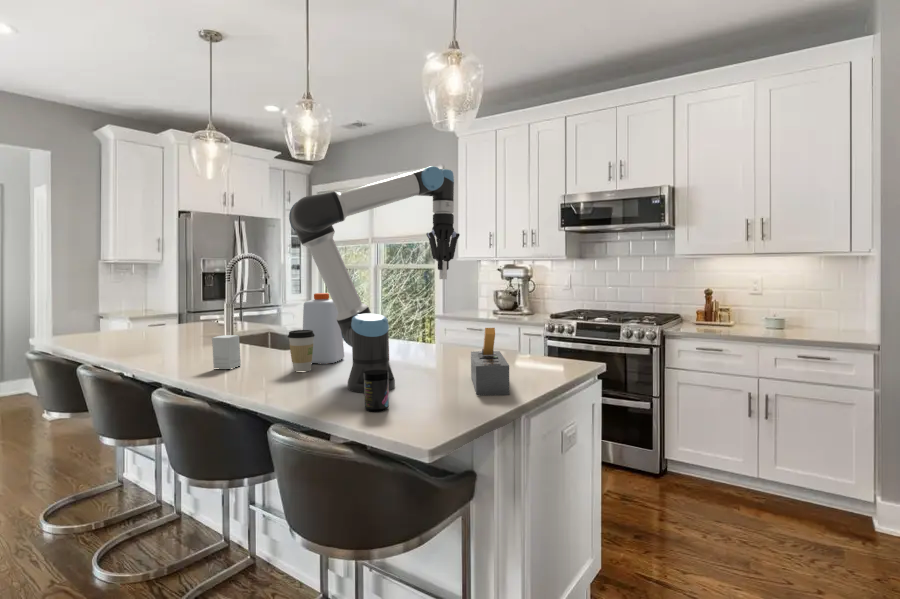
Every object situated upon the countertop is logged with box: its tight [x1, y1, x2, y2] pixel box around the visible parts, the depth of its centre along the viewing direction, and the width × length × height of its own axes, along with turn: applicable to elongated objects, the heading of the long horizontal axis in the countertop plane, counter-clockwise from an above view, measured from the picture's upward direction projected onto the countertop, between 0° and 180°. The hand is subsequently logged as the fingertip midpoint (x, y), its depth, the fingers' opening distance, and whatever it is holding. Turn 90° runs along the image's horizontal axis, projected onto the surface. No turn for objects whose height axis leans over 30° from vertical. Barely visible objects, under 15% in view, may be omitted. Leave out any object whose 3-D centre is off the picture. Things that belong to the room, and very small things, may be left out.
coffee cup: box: [287, 329, 315, 372], centre depth 204 cm, size 10×10×15 cm
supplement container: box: [363, 370, 390, 413], centre depth 149 cm, size 7×7×10 cm
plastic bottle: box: [302, 292, 345, 365], centre depth 223 cm, size 15×15×28 cm
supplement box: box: [211, 334, 242, 369], centre depth 211 cm, size 7×7×13 cm
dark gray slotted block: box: [470, 350, 510, 396], centre depth 183 cm, size 40×10×9 cm, turn 1°
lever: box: [481, 327, 496, 355], centre depth 174 cm, size 2×4×13 cm
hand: (443, 279), depth 197 cm, fingers closed
